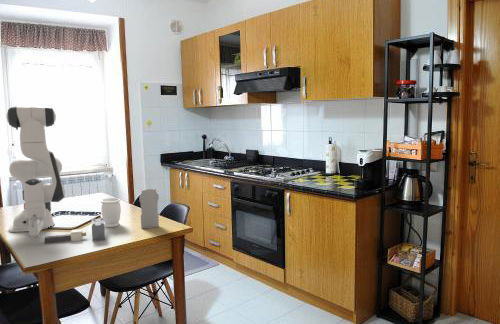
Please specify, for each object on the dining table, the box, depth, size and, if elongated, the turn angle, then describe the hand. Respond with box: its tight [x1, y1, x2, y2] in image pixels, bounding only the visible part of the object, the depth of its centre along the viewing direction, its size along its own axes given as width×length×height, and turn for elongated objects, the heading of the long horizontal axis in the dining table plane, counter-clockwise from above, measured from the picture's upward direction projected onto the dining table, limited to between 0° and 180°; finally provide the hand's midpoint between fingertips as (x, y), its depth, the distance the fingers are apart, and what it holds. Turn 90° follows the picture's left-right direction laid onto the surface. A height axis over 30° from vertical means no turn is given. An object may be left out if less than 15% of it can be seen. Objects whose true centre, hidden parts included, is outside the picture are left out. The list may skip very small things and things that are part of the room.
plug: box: [43, 228, 87, 244], centre depth 196 cm, size 19×4×4 cm, turn 111°
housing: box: [91, 217, 106, 242], centre depth 202 cm, size 6×13×9 cm, turn 21°
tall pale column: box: [138, 188, 160, 230], centre depth 218 cm, size 11×4×22 cm, turn 116°
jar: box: [100, 197, 122, 228], centre depth 222 cm, size 11×10×15 cm
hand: (37, 240), depth 192 cm, fingers closed
